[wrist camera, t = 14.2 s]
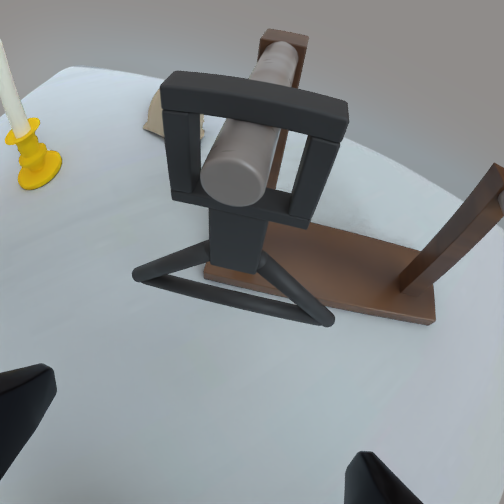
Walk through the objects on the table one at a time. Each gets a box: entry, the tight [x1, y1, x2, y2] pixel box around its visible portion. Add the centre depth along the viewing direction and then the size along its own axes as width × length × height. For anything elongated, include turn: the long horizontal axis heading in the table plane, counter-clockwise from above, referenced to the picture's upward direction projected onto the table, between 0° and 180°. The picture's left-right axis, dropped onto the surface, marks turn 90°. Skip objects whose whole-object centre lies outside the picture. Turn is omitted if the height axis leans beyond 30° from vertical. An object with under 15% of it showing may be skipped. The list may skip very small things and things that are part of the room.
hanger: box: [132, 71, 349, 327], centre depth 9 cm, size 9×1×10 cm, turn 78°
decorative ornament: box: [143, 89, 204, 140], centre depth 26 cm, size 4×8×5 cm, turn 52°
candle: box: [0, 39, 62, 190], centre depth 18 cm, size 5×5×16 cm
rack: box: [200, 29, 504, 325], centre depth 14 cm, size 11×17×15 cm, turn 79°
